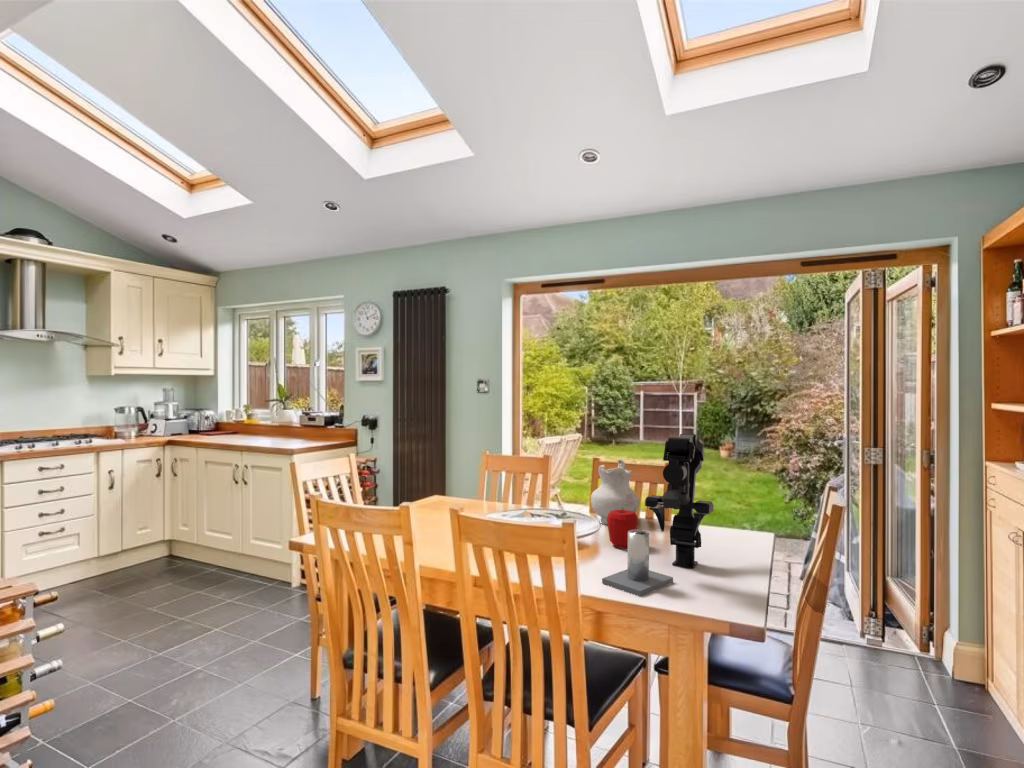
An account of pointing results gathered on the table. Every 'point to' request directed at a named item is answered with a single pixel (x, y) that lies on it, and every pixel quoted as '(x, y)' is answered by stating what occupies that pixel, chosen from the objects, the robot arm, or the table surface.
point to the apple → (621, 526)
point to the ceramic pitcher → (614, 492)
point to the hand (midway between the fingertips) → (678, 533)
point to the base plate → (637, 582)
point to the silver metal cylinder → (638, 555)
